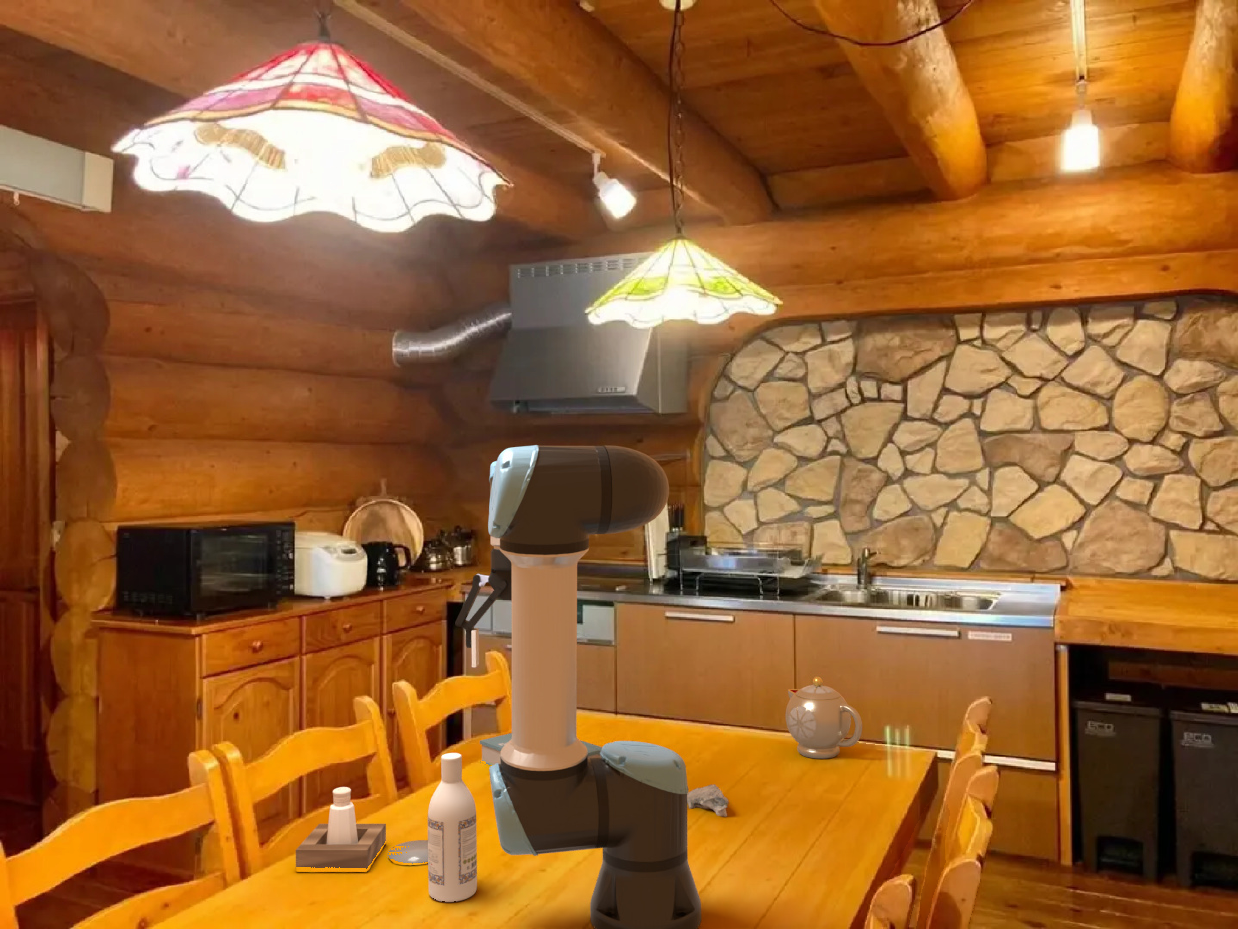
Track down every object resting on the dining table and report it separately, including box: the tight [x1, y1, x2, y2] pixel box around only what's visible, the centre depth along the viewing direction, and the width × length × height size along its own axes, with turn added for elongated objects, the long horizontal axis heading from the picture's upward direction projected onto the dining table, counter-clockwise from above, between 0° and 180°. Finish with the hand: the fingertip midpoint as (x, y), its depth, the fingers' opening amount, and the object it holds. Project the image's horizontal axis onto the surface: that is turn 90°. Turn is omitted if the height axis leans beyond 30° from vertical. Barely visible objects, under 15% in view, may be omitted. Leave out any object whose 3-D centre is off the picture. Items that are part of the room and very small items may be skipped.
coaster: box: [387, 839, 428, 864], centre depth 158 cm, size 9×9×1 cm
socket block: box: [295, 823, 387, 869], centre depth 157 cm, size 11×11×4 cm
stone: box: [687, 783, 729, 818], centre depth 178 cm, size 6×12×4 cm, turn 9°
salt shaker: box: [327, 786, 358, 844], centre depth 157 cm, size 5×5×11 cm
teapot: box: [785, 676, 863, 760], centre depth 209 cm, size 18×14×16 cm
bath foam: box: [427, 752, 478, 903], centre depth 144 cm, size 7×7×20 cm
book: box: [479, 732, 603, 766], centre depth 204 cm, size 23×16×5 cm
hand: (513, 666), depth 176 cm, fingers open, 13 cm apart
